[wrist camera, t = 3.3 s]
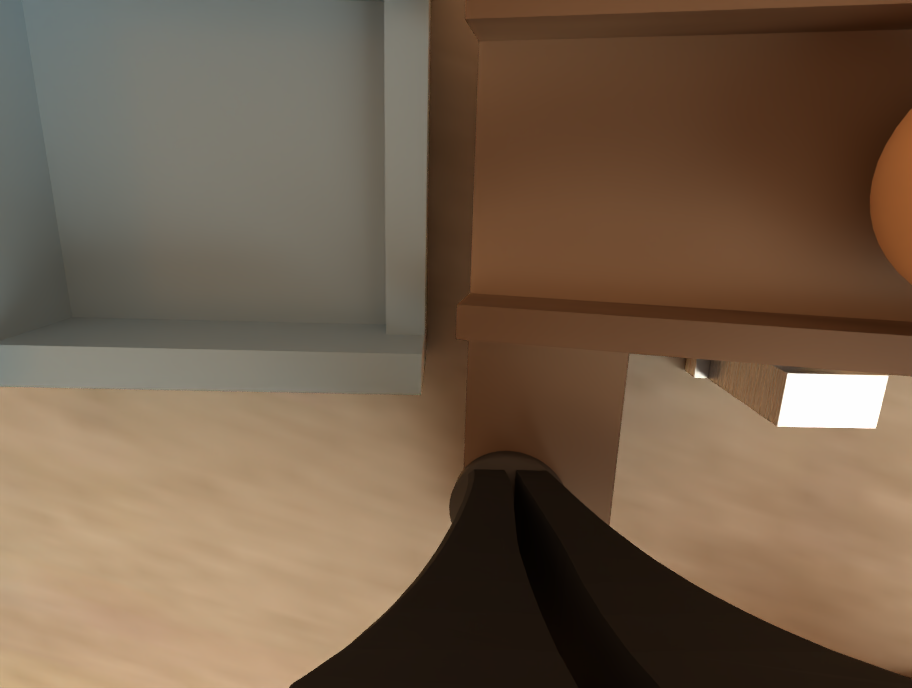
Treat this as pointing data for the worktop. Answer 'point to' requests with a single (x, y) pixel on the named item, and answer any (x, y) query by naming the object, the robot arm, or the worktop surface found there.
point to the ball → (895, 199)
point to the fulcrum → (799, 392)
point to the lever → (670, 209)
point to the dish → (214, 194)
